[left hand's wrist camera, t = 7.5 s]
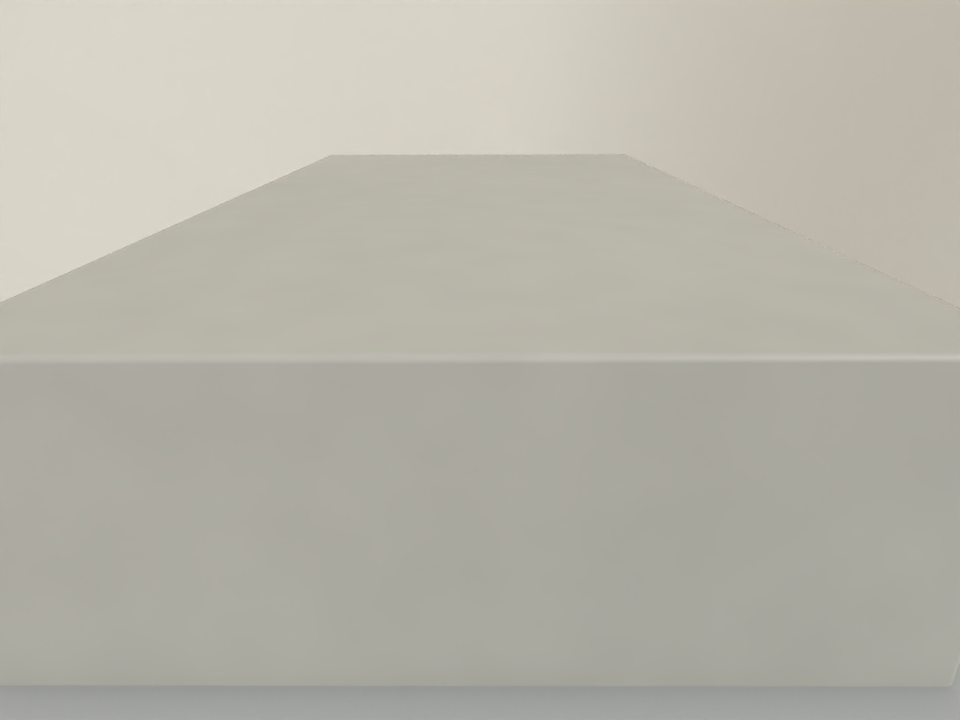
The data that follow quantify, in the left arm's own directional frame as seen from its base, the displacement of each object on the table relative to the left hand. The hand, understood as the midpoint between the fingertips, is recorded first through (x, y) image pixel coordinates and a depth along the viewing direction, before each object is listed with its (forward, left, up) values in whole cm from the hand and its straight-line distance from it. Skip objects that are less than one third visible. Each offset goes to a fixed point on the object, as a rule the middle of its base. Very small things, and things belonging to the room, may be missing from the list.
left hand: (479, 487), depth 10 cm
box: (-2, +10, -7) cm, 12 cm away
